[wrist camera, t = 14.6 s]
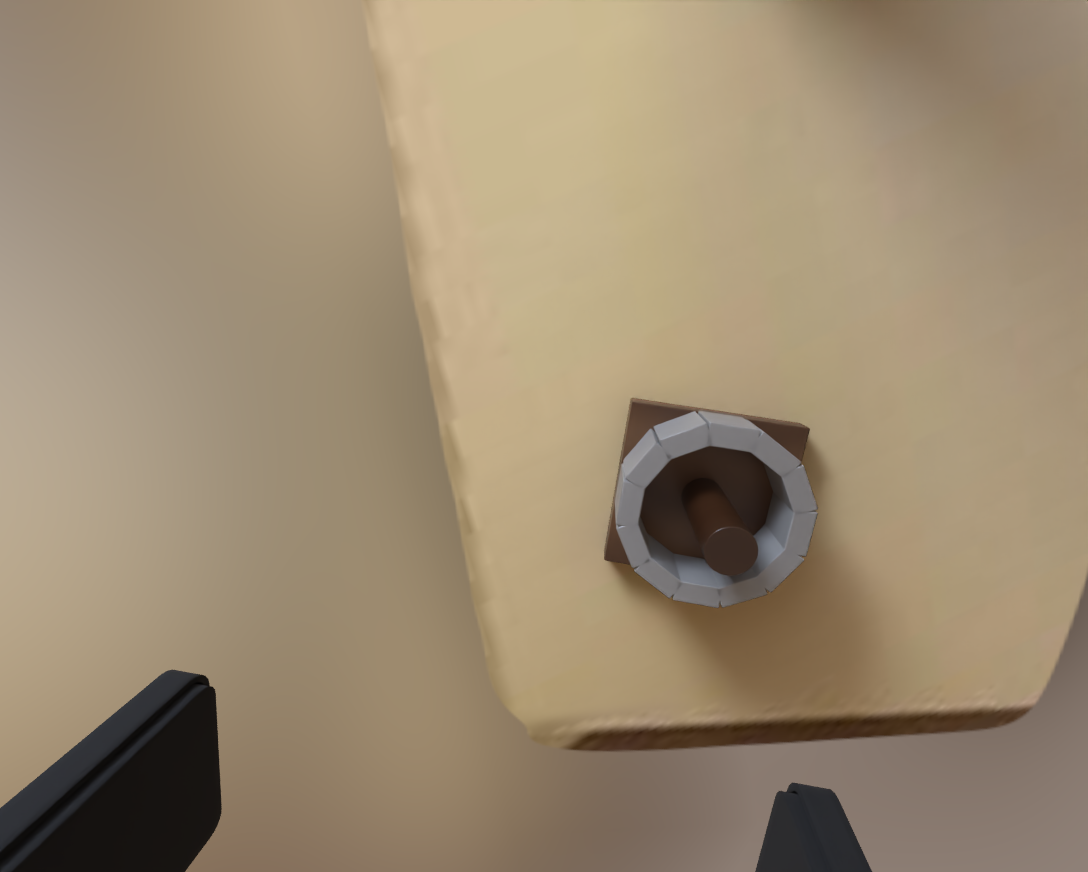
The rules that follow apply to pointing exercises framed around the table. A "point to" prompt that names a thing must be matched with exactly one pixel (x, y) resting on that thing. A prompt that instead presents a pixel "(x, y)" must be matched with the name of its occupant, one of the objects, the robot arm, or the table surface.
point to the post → (704, 492)
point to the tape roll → (776, 539)
